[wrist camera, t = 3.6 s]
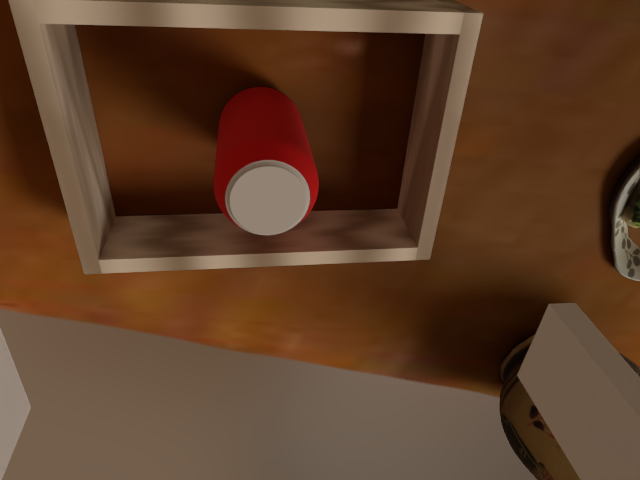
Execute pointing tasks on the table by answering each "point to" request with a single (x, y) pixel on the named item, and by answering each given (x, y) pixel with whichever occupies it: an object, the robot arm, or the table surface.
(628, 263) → the salad plate
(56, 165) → the frame
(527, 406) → the ceramic jug
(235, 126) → the beverage can
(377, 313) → the table surface
